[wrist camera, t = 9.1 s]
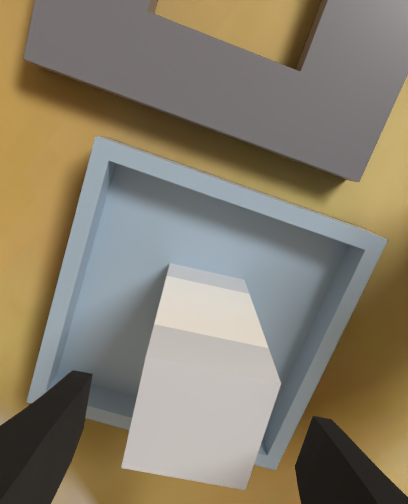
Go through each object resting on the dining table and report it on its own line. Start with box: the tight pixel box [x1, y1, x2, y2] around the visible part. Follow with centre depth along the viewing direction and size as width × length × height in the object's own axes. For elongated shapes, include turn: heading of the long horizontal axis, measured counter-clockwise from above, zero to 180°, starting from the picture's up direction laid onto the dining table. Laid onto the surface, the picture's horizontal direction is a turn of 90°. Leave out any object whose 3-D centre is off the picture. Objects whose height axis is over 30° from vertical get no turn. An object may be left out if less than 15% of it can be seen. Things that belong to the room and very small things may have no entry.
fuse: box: [121, 263, 281, 490], centre depth 15 cm, size 4×4×9 cm
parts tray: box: [27, 136, 388, 470], centre depth 19 cm, size 14×14×2 cm
